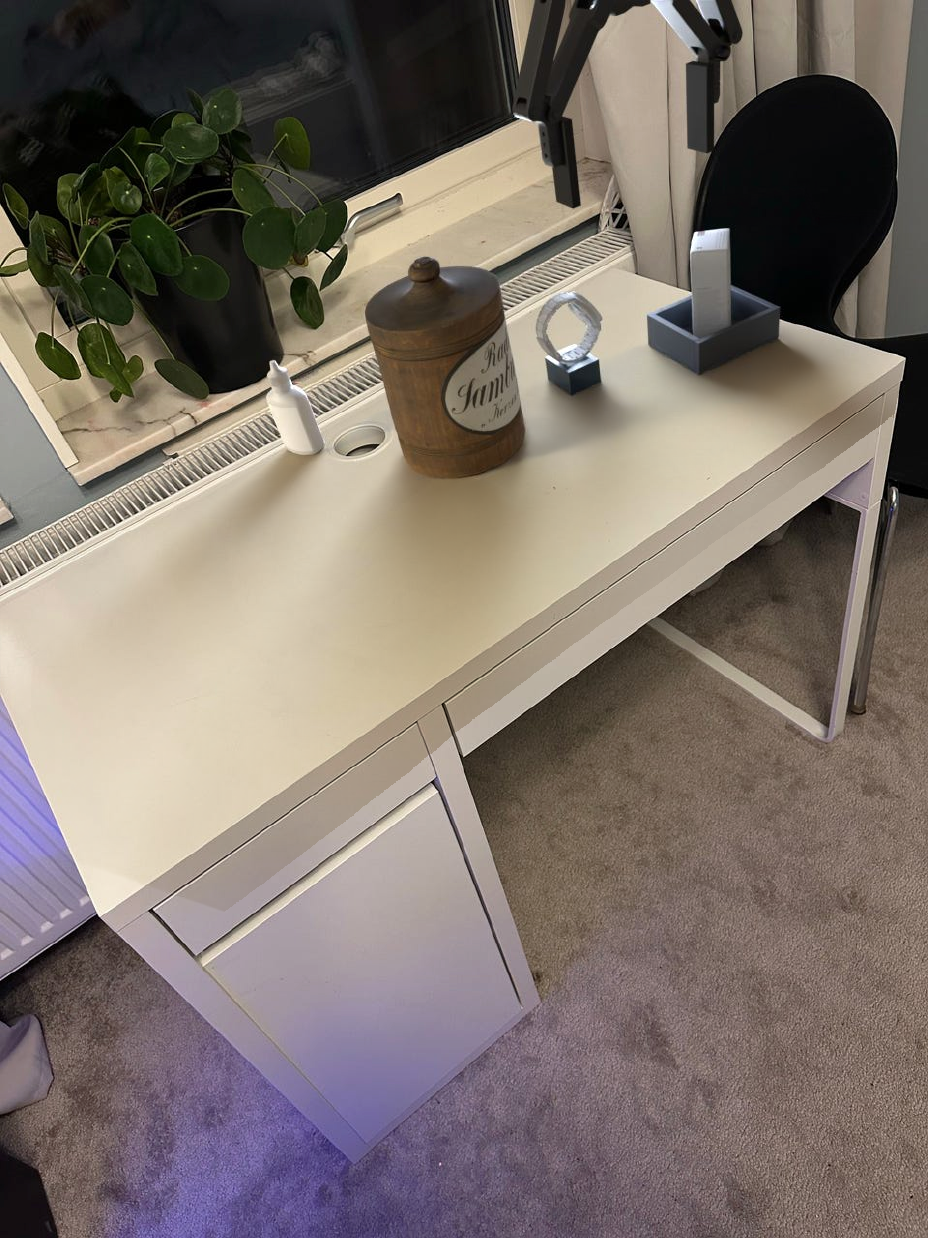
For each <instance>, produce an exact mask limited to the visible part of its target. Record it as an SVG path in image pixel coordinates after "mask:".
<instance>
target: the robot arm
mask: <svg viewBox="0 0 928 1238" xmlns="http://www.w3.org/2000/svg"><path fill="white" fill-rule="evenodd" d="M695 1H696V3H697V6H698V8H697V7H696V6H695V4H694V3H693V2H692V0H574V1H573V3H572V6H571V8H570V11H569V14H568V19H569V22H568V24H567V27H566V28H565V31H564V34H563V37H562V39H561V41H560V43H559V46H557V45H558V41H559V37H560V33H561V28H562V24H563V20H564V19H563V18H564V15H565V9H566V3H567V0H534V2H533V8H532V12H531V15H530V16H531V17H530V22H529V27H528V31H527V36H526V40H525V45H524V51H523V55H522V60H521V64H520V69H519V74H518V80H517V83H516V84H517V85H516V88H515V94H514V99H513V103H512V109H511V110H512V114H513V115H514V117H516V118H519V119H522V120H525V121H529V122H533V123H534V122H535V123H536V124H537V128H538V136H539V144H540V152H541V159H542V161H543V163H544V165H545V166H547V167H551V170H552V179H553V186H554V194H555V195H554V196H555V202H556V203H557V204H561V205H562V206H565V207H568V208H570V209H573V210H574V209H577V208H578V207H581V206H582V201H581V191H580V183H579V172H578V163H577V153H576V145H575V134H574V124H573V118H570V117H566V116H564V113H565V111H566V108H567V106H568V105H569V101H570V99H571V97H572V94H573V92H574V90H575V87H576V85H577V84H578V83H577V82H578V81H579V78H580V76H581V73H582V71H583V69H584V66H585V64H586V62H587V60H588V57H589V54H590V53H591V51H592V48H593V46H594V43H595V42H596V39H597V37H598V34H599V32H600V31H601V30H602V29H603V28H604V27H605V26H606V24H607V23H608V20H609V18H610V16H611V17H618V16H620V15H623V14H626V13H627V12H628V11H630V10H631V9H632V8H634V7H637V8H638V7H639V8H640V7H641V8H644V7H646V6H648V5H651V4H653V5H654V6H655V8H656V10H657V11H658V12H659V13H660V14H661V15H662V17H663V18H664V19H665V20H666V22H667V23H668V24H669V25H670V27H671V28H672V29H673V31H674V32H675V33H676V34H677V36H678V37H679V38H680V39H681V41H682V42H683V44H684V45H685V46H686V47H687V48H688V49H689V50H690V52H691V53H692V54H693V57H695V58H697V60H691V61H689V62H686V63H685V95H686V97H685V99H686V148H687V150H692V151H694V152H695V151H696V152H700V153H704V154H710V153H713V152H715V105H716V104H717V103H719V101H720V97H721V62H726V61H728V59H729V58H730V56H731V53H732V48H731V47H732V45H738V44H739V43H740V42H741V40H742V38H743V34H744V33H743V28H742V25H741V22H740V20H739V17H738V15H737V11H736V9H735V6H734V3H733V1H732V0H695ZM591 7H592V8H591ZM698 9H699V10H698ZM557 47H558V48H557Z"/></svg>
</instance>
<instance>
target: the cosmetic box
mask: <svg viewBox="0 0 928 1238" xmlns="http://www.w3.org/2000/svg"><path fill="white" fill-rule="evenodd" d="M730 232H731V229H730V228H717V229H709V230H702V231H695V232H694V233H693V237H692V240H691V247H690V253H689V254H690V256H689V257H690V258H689V260H690V284H691V285H690V286H691V295H692V317H693V335H694V336H696V337H697V338H699V339H702V338H704V337H706V336H708V335H711V334H713V333H715V332H717V331H720V330H722V329H724V328H726V327H729V326H731V285H732V284H731V283H732V281H731V280H732V279H731V237H730V235H731V234H730Z"/></svg>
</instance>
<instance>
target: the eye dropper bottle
mask: <svg viewBox="0 0 928 1238" xmlns="http://www.w3.org/2000/svg"><path fill="white" fill-rule="evenodd" d="M269 367H270V369H269V371H268V372H267V374H266V377H267V381H268V382H269V384H270V387H271V389H270V390H269V391H268V392H267V394H266V395H265V397H266V398H265V400H266V403H267V406H268V408H269V411H270V413H271V415H272V418H273V420H274V423H275V425H276V428H277V430H278V433H279V435H280V437H281V440H282V442H283V446H284V447H285V449H287V451H289V452H291V453H293V454H296V455H300V456H311V455H316V454H318V453H319V452H320V451H321V450H323V448H324V447H325V446H326V442H325V439H324V437H323V434H322V432H321V429H320V426H319V423H318V421H317V417H316V415H315V413H314V410H313V407H312V405H311V402H310V400H309V397H308V395H307V394H306V393H305V391H303V390H302V389H301V388H300V387H298V386H296V385H294V384H292V380H291V378H290V375H289V373H288V370H287V368H286V367H283V366H279V364H278V363H277V361H276V360H275V359H272V360H270V361H269Z"/></svg>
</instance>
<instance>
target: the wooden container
mask: <svg viewBox="0 0 928 1238" xmlns="http://www.w3.org/2000/svg"><path fill="white" fill-rule="evenodd" d="M501 289H502V288H501V284H500V281H499V279H498V277H497V275H495V273H493V272H491V271H490V270H487V269H485V268H482V267H478V266H472V265H450V266H449V265H448V266H441V265H440V262H439V260H437V259H436V258H433V257H430V256H422V257H421V256H420V257H419V258H417V259H414V261H413V262H412V263H411V264H410V265H409V267H408V270H407V275H406V276H404V277H402V278H400V279H397V280H395V281H393V282H391V283H389V284H387V285H386V286H384V287H382V288H381V289H380V290H379V291H377V292H376V293H375V294H374V295H373V296H372V297H371V298H370V299H369V301H368V302H367V304H366V306H365V310H364V317H365V323H366V327H367V331H368V334H369V338H370V341H371V343H372V346H373V350H374V355H375V359H376V362H377V365H378V368H379V372H380V375H381V380H382V384H383V387H384V388H383V389H384V392H385V395H386V400H387V404H388V408H389V411H390V415H391V419H392V422H393V425H394V428H395V432H396V434H397V438H398V442H399V445H400V448H401V452H402V455H403V458H404V460H405V461H404V462H405V463H406V464H407V465H408V467H410V468H411V469H412V470H413V471H415V472H416V473H419V474H421V475H424V476H427V477H432V478H438V479H457V478H465V477H469V476H474V475H477V474H480V473H483V472H485V471H489V470H492V469H493V468H495V467H497V466H499V465H501V464H502V463H504V462H506V461H507V460H508V459H509V458H511V457H512V456H513V455H514V454H515V453H516V452H517V451H518V450H519V448H520V447H521V446H522V444H523V442H524V440H525V435H526V426H525V420H524V413H523V408H522V399H521V394H520V388H519V387H520V386H519V382H518V376H517V370H516V365H515V360H514V356H513V351H512V346H511V340H510V335H509V330H508V329H509V328H508V323H507V320H506V315H505V314H506V313H505V307H504V300H503V294H502V290H501Z"/></svg>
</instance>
